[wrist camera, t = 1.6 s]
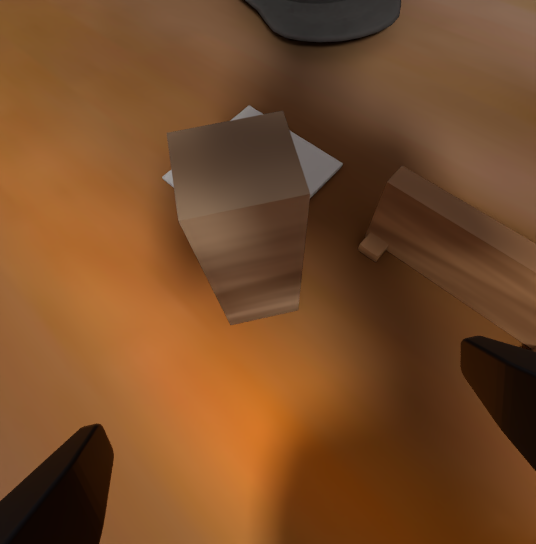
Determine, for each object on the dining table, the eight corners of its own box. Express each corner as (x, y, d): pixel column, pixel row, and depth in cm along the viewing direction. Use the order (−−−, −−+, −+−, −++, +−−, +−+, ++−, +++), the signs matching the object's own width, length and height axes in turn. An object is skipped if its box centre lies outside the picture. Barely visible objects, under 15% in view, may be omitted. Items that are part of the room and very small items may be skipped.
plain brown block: (298, 310, 23) (310, 194, 12) (230, 325, 23) (178, 221, 12) (283, 255, 25) (282, 108, 14) (220, 269, 25) (166, 131, 14)
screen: (551, 385, 21) (645, 368, 15) (354, 247, 25) (373, 196, 20) (580, 334, 22) (677, 301, 17) (387, 210, 26) (414, 152, 21)
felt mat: (256, 252, 25) (256, 250, 25) (163, 179, 28) (162, 177, 28) (342, 166, 28) (342, 163, 28) (249, 108, 31) (248, 105, 31)
